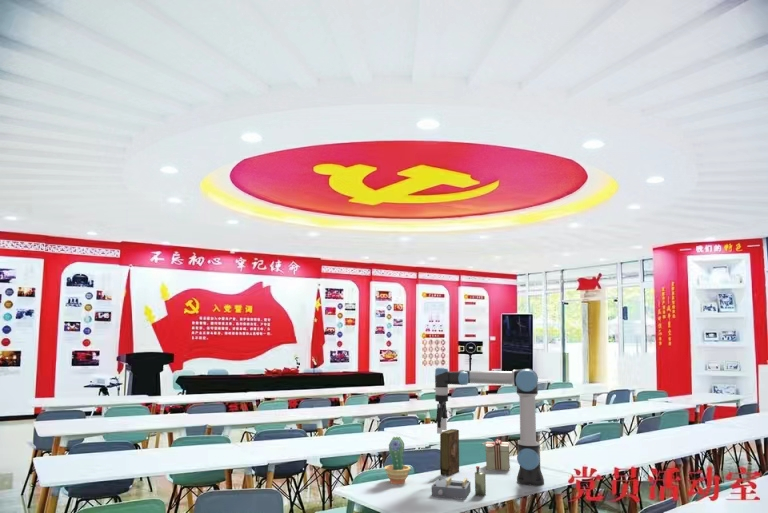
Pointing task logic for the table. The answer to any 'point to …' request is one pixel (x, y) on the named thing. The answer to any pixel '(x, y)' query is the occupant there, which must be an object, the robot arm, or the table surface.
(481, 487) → the spout can
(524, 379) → the robot arm
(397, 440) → the potted cactus
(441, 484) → the grey shallow box
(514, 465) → the table surface
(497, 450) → the gift box
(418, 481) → the table surface
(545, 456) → the table surface
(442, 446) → the book
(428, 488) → the table surface
